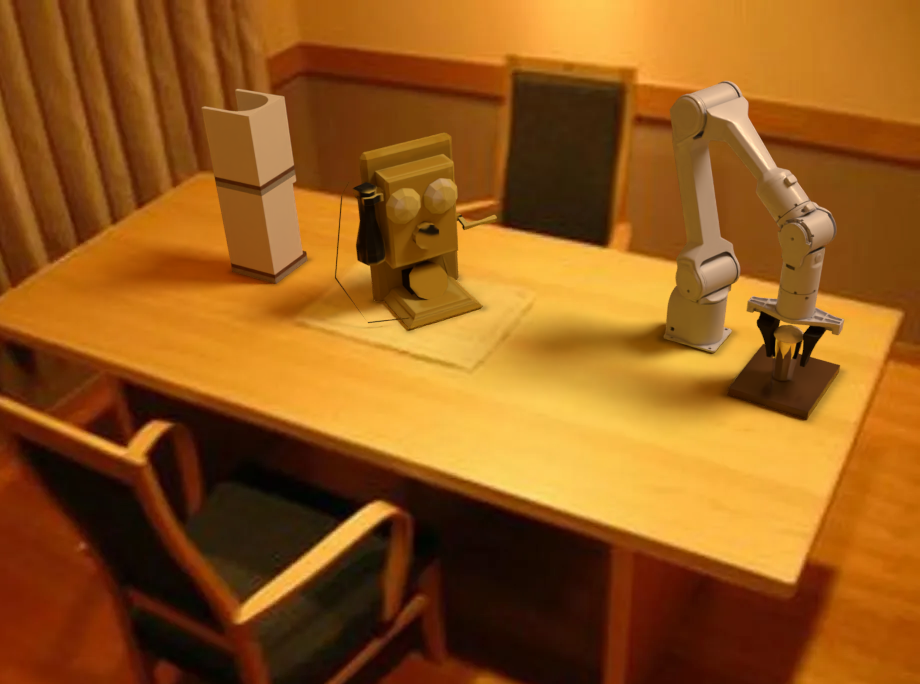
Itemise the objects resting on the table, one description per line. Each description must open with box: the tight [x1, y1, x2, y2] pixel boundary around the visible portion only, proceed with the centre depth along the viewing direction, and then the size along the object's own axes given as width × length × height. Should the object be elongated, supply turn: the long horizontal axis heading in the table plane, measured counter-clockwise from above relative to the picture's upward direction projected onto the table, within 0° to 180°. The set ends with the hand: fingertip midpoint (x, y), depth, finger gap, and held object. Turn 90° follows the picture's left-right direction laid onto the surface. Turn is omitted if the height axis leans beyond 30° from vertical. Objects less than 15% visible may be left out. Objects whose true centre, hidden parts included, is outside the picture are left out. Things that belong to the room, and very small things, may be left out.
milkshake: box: [772, 324, 804, 381], centre depth 172 cm, size 5×5×10 cm
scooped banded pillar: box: [201, 88, 308, 285], centre depth 212 cm, size 11×11×35 cm
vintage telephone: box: [334, 132, 498, 330], centre depth 196 cm, size 31×14×30 cm, turn 114°
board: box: [727, 343, 841, 420], centre depth 175 cm, size 13×15×2 cm
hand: (787, 358), depth 173 cm, fingers closed on milkshake, 5 cm apart
